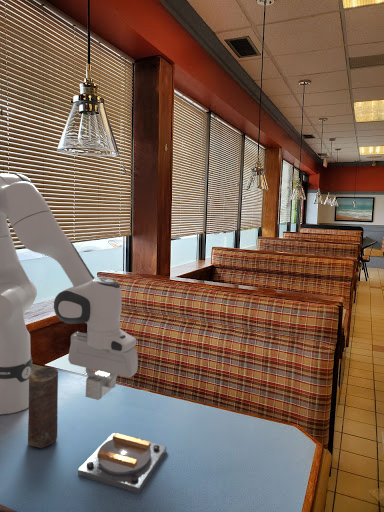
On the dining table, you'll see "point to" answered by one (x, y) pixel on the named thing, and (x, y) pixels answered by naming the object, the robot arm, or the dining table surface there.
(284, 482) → the dining table surface
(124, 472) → the turntable fixture plate
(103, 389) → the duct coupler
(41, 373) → the candle
